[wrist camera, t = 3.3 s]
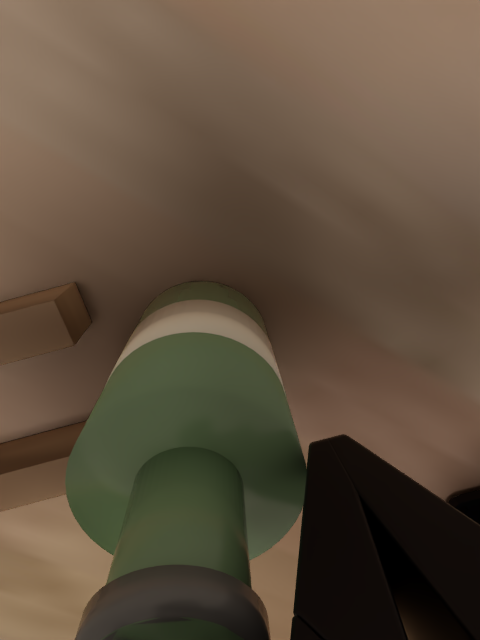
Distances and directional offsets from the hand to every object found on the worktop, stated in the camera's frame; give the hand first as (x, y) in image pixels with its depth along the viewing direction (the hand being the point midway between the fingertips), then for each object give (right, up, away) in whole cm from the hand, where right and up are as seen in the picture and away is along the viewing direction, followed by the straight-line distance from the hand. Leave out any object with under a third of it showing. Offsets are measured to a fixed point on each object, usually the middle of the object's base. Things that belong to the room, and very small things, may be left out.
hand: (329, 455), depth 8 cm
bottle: (-3, +2, +7) cm, 8 cm away
